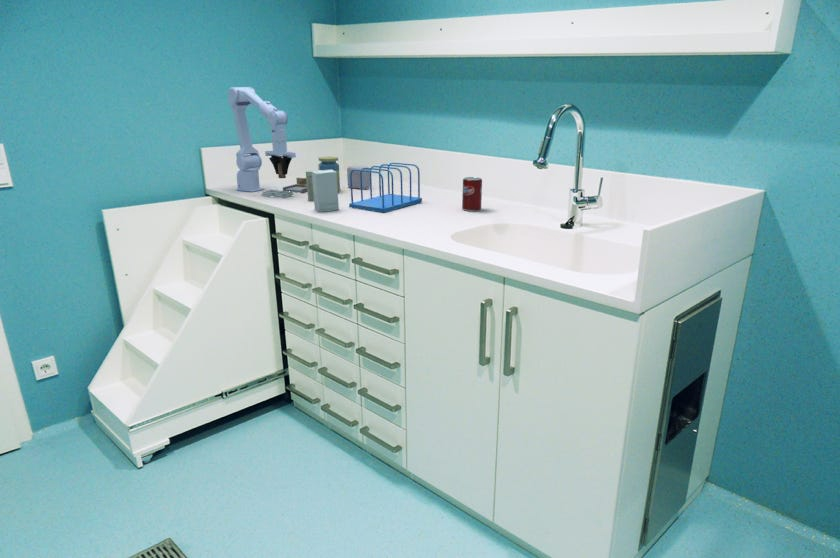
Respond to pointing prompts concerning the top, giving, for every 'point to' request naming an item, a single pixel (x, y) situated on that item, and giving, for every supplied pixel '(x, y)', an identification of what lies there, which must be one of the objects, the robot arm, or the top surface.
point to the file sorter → (384, 201)
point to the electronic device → (358, 177)
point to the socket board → (277, 193)
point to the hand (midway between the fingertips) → (281, 174)
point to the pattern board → (295, 188)
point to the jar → (330, 166)
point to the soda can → (472, 194)
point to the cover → (301, 181)
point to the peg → (280, 171)
